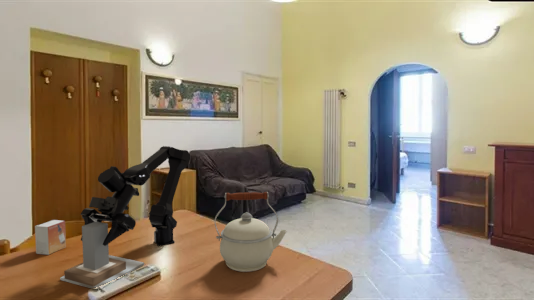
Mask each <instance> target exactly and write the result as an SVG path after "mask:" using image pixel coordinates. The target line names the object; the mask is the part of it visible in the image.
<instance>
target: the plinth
mask: <svg viewBox="0 0 534 300" xmlns="http://www.w3.org/2000/svg"><path fill="white" fill-rule="evenodd" d="M143 266H145V262H143V261H139V260H134V259H130V258H124V257H120V256H116V255H115V256H114V255H112V254H111V255H110V254H109V264H107V265H105V266H103V267H101V268H99V269H97V270H92V269H88V268H84V267H83V262H81V263H79V264H77V265H74V266H72V267H70V268H68V269H65V270H64V275H63V276H61V277H59V279H60V281H63V282H67V283H70V284H73V285H78V286H81V287H85V288H89V289H92V288H96V287H99V286H101V285H104V284H106V283H108V282H110V281H112V280H115V279H117V278H118V277H121V276H123V275H125V274H126V273H129V272H131V271H133V272H134V271H136V270H138V269H140V268H141V267H143ZM131 273H132V272H131ZM129 274H130V273H129ZM125 276H126V275H125ZM92 290H93V289H92Z"/></svg>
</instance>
